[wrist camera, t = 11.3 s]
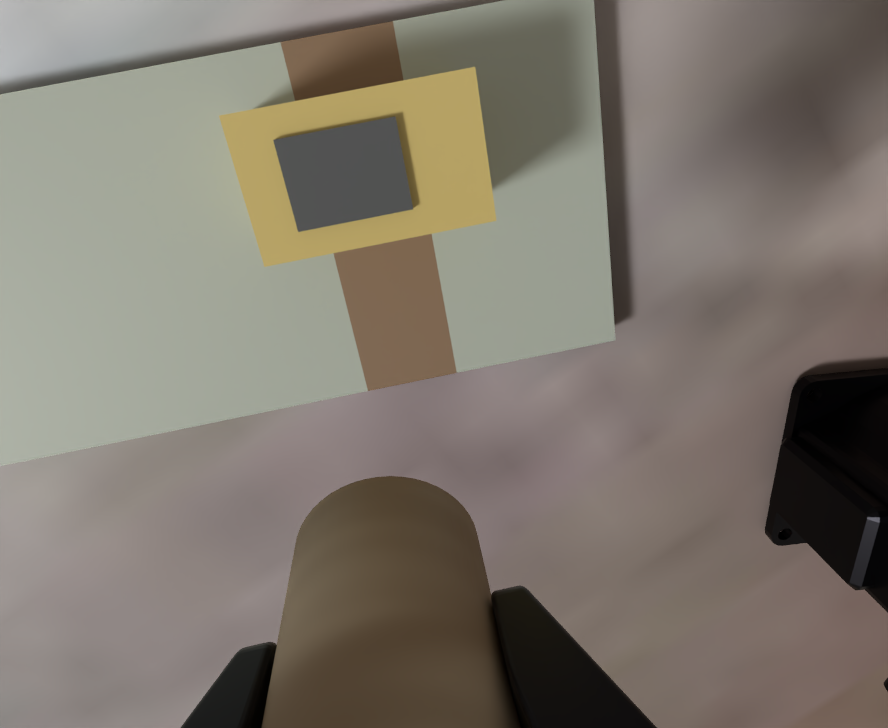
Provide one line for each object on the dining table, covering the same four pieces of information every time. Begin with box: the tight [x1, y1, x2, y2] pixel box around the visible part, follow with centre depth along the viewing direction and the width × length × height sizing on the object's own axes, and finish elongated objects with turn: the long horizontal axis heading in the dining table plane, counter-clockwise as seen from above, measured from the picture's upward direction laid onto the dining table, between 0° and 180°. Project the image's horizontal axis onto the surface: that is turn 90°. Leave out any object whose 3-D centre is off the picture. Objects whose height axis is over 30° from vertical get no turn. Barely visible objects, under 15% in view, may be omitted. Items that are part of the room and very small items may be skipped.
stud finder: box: [219, 67, 497, 267], centre depth 14 cm, size 5×3×3 cm, turn 100°
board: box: [0, 0, 615, 466], centre depth 16 cm, size 18×9×1 cm, turn 100°
